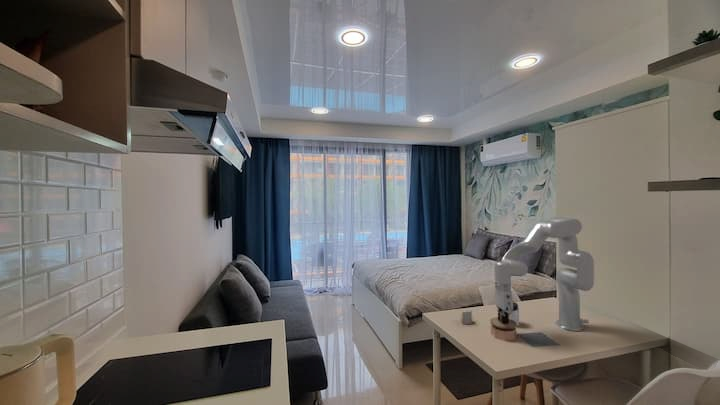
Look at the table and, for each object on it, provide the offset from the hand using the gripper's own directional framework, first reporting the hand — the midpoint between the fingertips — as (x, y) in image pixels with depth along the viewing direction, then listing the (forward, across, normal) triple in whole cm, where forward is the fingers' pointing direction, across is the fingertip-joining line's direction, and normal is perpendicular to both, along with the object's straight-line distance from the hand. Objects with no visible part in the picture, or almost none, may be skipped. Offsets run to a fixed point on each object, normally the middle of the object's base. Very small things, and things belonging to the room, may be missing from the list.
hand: (503, 321), depth 158 cm
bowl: (+8, 0, 0) cm, 8 cm away
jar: (+8, +13, -11) cm, 19 cm away
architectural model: (+9, +18, +12) cm, 23 cm away
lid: (+1, 0, 0) cm, 1 cm away
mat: (+8, -6, -14) cm, 17 cm away
